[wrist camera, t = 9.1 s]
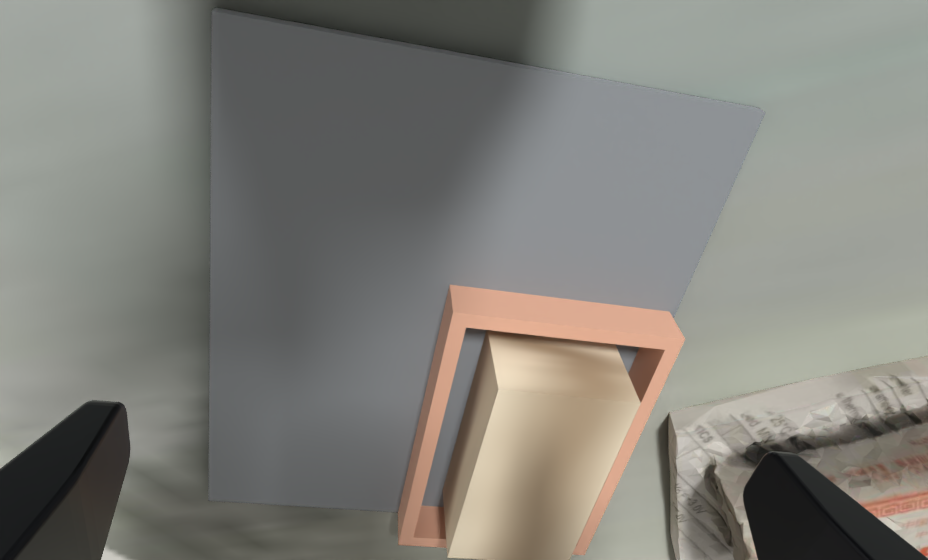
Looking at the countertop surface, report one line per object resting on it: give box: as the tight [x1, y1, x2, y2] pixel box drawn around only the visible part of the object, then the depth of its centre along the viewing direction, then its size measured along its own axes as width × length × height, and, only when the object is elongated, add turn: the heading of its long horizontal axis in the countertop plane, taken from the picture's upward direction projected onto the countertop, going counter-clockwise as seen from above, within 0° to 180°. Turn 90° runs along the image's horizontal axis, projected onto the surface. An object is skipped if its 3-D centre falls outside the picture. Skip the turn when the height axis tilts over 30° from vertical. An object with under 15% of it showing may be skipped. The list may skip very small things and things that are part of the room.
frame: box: [398, 285, 685, 555], centre depth 25 cm, size 11×8×2 cm
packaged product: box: [668, 356, 928, 560], centre depth 27 cm, size 18×5×10 cm
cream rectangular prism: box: [443, 330, 641, 560], centre depth 24 cm, size 4×8×3 cm, turn 168°
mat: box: [209, 7, 765, 512], centre depth 23 cm, size 18×15×1 cm
